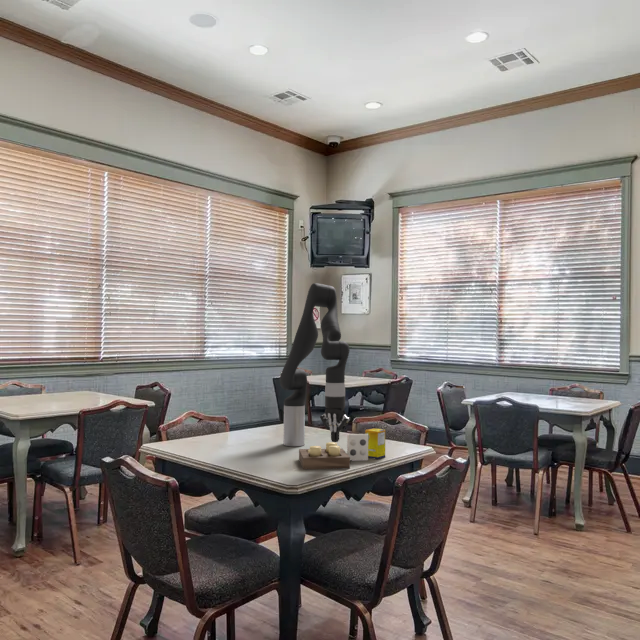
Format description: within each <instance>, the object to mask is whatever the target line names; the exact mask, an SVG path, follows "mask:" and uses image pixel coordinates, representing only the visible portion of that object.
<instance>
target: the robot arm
mask: <svg viewBox="0 0 640 640" xmlns="http://www.w3.org/2000/svg"><path fill="white" fill-rule="evenodd" d="M315 307H320V308H327V311H326V313H325V314H324V316H323V318H322V319H321V322H320V329H321V335H322V344H321V350H320V354H321V356H322V358H323V359H324V360H327V361H338V362H337V364H335V365H331V366H327V367H326V369H325V386H324V388H325V389H324V407H325V410H324V413H323V414H322V415H319V418H320V420H321V422H322V423H323V425H324V427H325V429H326V430H329V431H330V440H331V442H335V443H338V442H339V441H340V432H341V431H344V430H345V429H346V427H347V425H348V424H349V422H350V421H351V417H350V416H349V417H348V415H347V414H346V410H345V408H346V384H345V372H346V365H347V362H348V359H349V354H350V349H351V348H350V345H349V343H348V342H347V341H345V340H341V338H342V334H341V333H342V332H341V328H340V323H339V319H338V317H339V316H338V296H337V291H336V288H335V287H334V286H332V285H329V284H323V283H319V282H314V283H312V284H311V285H310V286H309V289H308V292H307V295H306V300H305V304H304V308H303V313H302V315H301V318H300V321H299V325H298V327H297V329H296V333H295V336H294V338H293V339H294V340H293V343H292V345H291V348H290V352H289V355H288V357H287V359H286V362H285V363H284V366H283V368H282V371H281V373H280V378H279V384H280V388H281V389H283V390H285V391H293V393H291V394H290V395H289V396H287V397H286V398H284V400H283V446H286V447H301V446H304V445H305V442H306V441H305V436H306V435H305V429H306V428H305V425H306V424H305V421H306V420H305V417H306V416H305V415H306V414H305V413H306V411H305V410H306V409H305V408H306V406H305V405H306V400H307V391H308V390H307V388H308V387H307V386H308V376H307V375H308V374H307V372H306V370H305V369H303V368H298V367H299V366H300V365H301V363H302V362H303V361H304V360H305V359H306V358H307V357H308V356H309V355H310V354H311V353H312V352H313V351H314V348H315V346H316V343H317V341H318V338H319V331H318V326H317V324H316V321H315V317H314V308H315Z"/></svg>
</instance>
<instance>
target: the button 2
mask: <svg viewBox="0 0 640 640" xmlns="http://www.w3.org/2000/svg"><path fill="white" fill-rule="evenodd" d="M309 449H310V456H312V457H316V456H321V449H322V447H321V446H320V445H311V446H309Z"/></svg>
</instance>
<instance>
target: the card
mask: <svg viewBox="0 0 640 640" xmlns="http://www.w3.org/2000/svg"><path fill="white" fill-rule="evenodd" d="M346 442H347V443H346V444H347V445H346V446H347V451H346V453H347V455H348V456H349V457H350V460H352V461H369V458H368V434H365V433H347V441H346Z"/></svg>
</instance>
